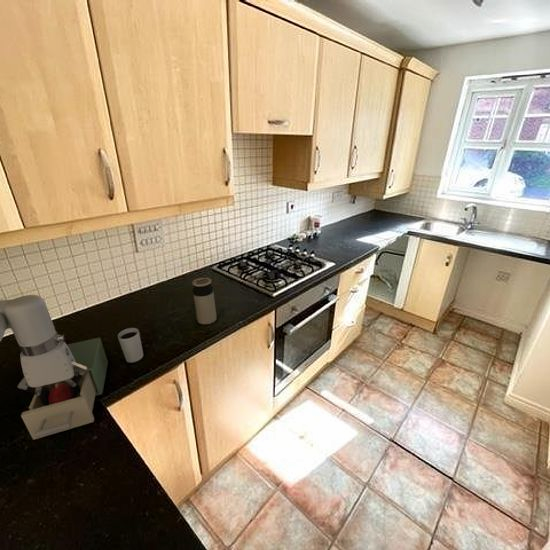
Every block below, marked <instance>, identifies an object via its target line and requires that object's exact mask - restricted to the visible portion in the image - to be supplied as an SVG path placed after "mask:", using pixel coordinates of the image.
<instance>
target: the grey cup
mask: <svg viewBox="0 0 550 550" xmlns="http://www.w3.org/2000/svg"><path fill="white" fill-rule="evenodd" d="M117 339H118V341H119V345H120V348H121V350H122V353H123V357H124V359H125V361H126V362H127V363H136V362H139V361H140V360H142V359H143V357H144V351H143V350H144V349H143V346H142V340H141V335H140V329H138V328H136V327H128V328H126V329H123V330H121V331H120V332H119V333H118V334H117Z"/></svg>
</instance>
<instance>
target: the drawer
mask: <svg viewBox="0 0 550 550" xmlns="http://www.w3.org/2000/svg"><path fill="white" fill-rule="evenodd" d="M75 375H76V374H75ZM56 383H59V384H67V385H69V386H71V385H70V384H68V383H67V382H66V381H65V380H64V381H60V382H56ZM56 383H52V384H48V385H44V387H46V388H48V391H49V393H50V392H51V390H52V389H53V388H54V387H55V384H56ZM78 385H79V387H80V393H78V396H77V398H74V399H70V400H66V401H63V402H59V403H55V404H51V405H50V404H49V405H48V406H45V405H44V403H42V402H41V400H40V398H39V396H36V395H35V394H34V395H33V397H32V400H31V402H30V404H29V406H28V409H29V410H25V411H22V413H21V414H20V417H21V419H22V421H23V423H24V425H25V426H26V429H27V431H28V432H29V435H30V436H31V438H32V440H33V441H34V440H39V439H41V438H44V437H45V438H46V437H48V436H51V435H55V434H57V433H61V432H64V431H68V430H71V429H74V428H78V427H82V426H85V425H88V424H91V423H94V422H95V417H94V414H93V409H94V405H95V399H96V396H95V394H96V389H97V388H96V385H95V382H94V379H93V376H92V374H91V371H87V372H86V373H85V374H84V375H83V376H82V378H81V379H80V380H79V382H78Z"/></svg>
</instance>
